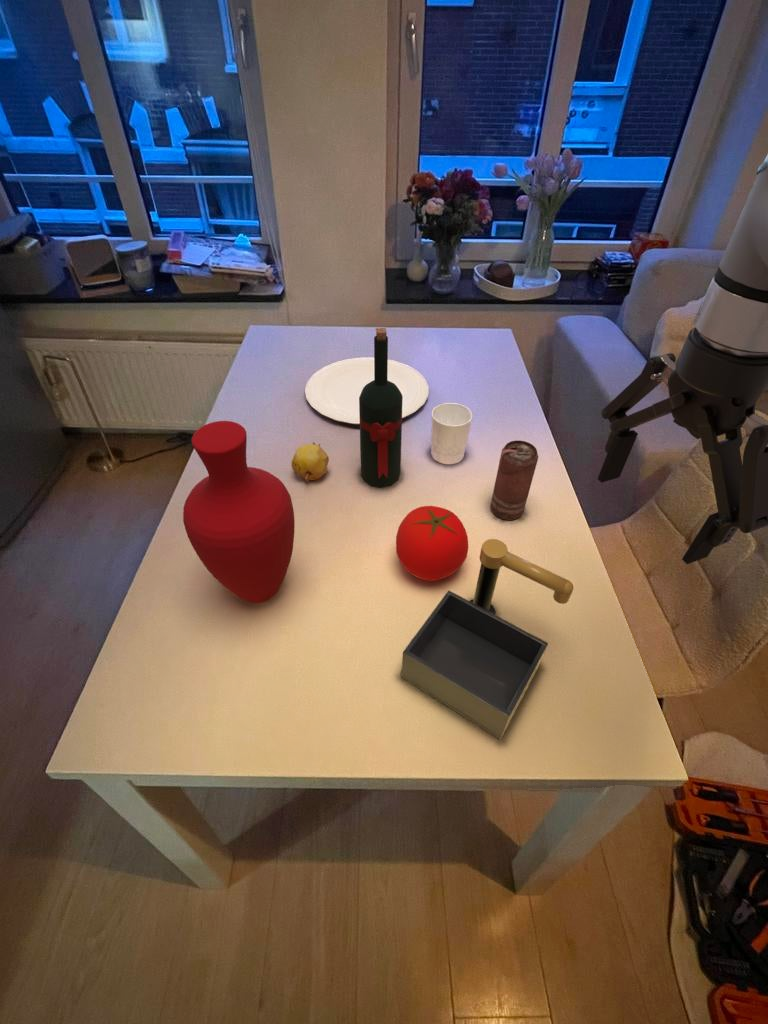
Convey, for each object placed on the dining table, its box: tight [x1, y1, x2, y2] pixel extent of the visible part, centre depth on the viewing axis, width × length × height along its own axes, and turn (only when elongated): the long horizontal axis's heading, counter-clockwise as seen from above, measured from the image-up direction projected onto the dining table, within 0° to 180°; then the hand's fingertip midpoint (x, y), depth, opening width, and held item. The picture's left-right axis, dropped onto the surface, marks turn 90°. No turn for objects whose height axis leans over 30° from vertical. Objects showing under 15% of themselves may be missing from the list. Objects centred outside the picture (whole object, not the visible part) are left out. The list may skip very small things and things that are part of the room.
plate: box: [304, 356, 430, 425], centre depth 124 cm, size 29×29×2 cm
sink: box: [401, 590, 549, 740], centre depth 72 cm, size 12×15×7 cm
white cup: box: [430, 402, 473, 465], centre depth 105 cm, size 8×8×10 cm
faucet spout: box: [479, 538, 574, 604], centre depth 69 cm, size 13×3×3 cm, turn 55°
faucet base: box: [469, 562, 501, 616], centre depth 76 cm, size 5×5×13 cm
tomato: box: [395, 505, 469, 582], centre depth 84 cm, size 12×12×10 cm
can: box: [489, 440, 539, 521], centre depth 92 cm, size 6×6×14 cm
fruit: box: [291, 441, 330, 484], centre depth 102 cm, size 7×7×10 cm
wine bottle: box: [359, 327, 403, 489], centre depth 93 cm, size 8×10×30 cm
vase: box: [182, 420, 296, 604], centre depth 74 cm, size 15×15×30 cm
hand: (648, 515), depth 59 cm, fingers open, 13 cm apart
